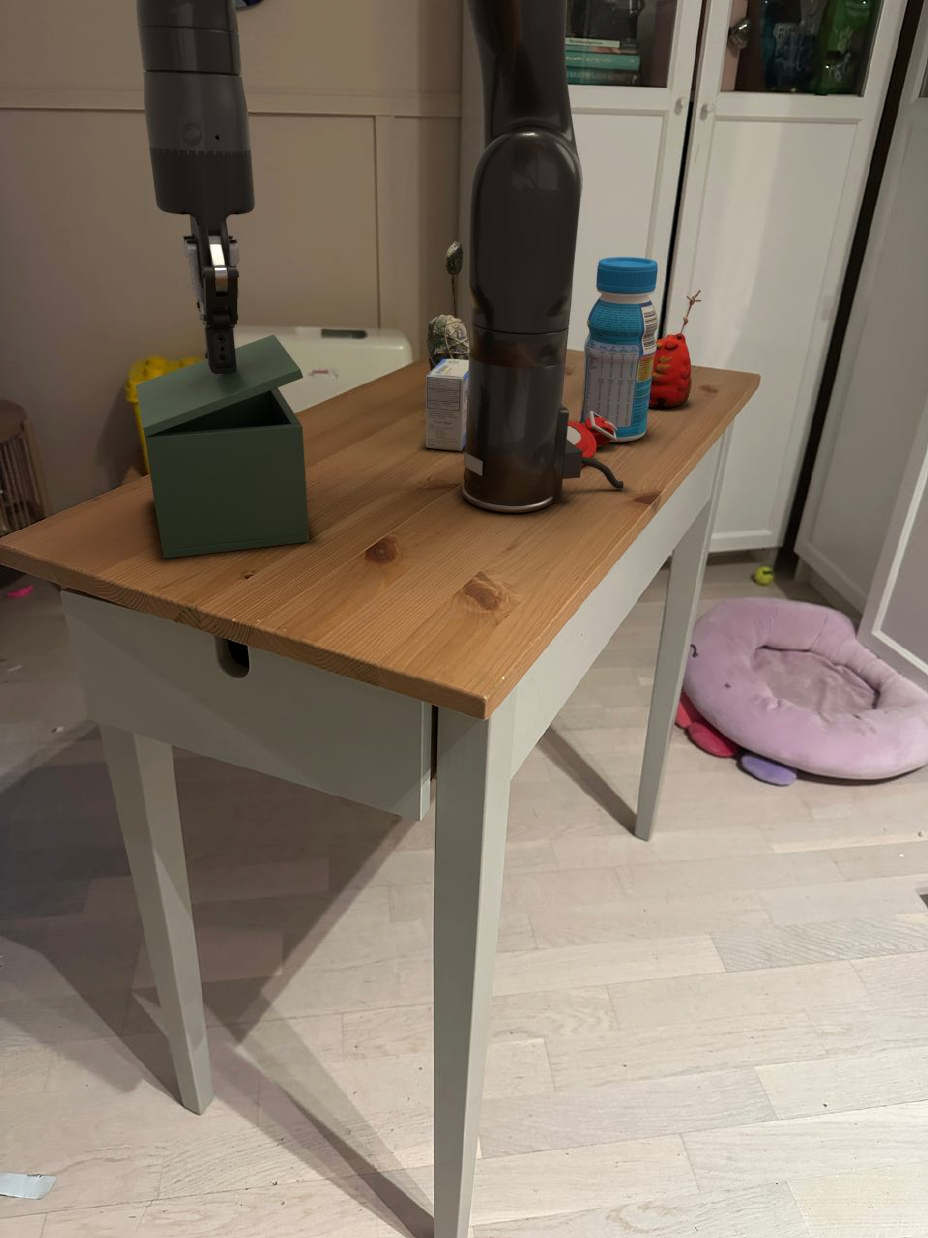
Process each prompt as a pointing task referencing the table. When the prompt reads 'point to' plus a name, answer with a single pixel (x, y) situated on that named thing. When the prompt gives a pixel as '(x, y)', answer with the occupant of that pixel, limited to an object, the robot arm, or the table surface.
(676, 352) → the red clay folk toy
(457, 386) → the medicine box
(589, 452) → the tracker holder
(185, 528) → the chest
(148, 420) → the lid
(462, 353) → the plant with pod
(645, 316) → the beverage bottle
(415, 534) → the table surface
